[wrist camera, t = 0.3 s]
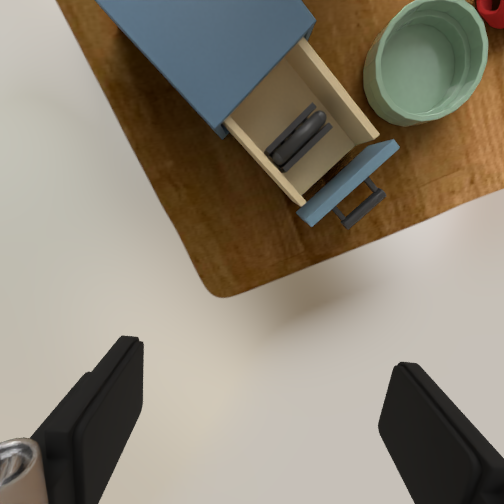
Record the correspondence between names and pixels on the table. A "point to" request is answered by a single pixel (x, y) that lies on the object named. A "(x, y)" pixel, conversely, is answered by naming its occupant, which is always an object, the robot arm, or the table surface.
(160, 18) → the cabinet
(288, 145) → the grey roller rack
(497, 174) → the table surface
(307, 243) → the table surface
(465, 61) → the bowl
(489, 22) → the tracker holder
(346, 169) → the drawer
